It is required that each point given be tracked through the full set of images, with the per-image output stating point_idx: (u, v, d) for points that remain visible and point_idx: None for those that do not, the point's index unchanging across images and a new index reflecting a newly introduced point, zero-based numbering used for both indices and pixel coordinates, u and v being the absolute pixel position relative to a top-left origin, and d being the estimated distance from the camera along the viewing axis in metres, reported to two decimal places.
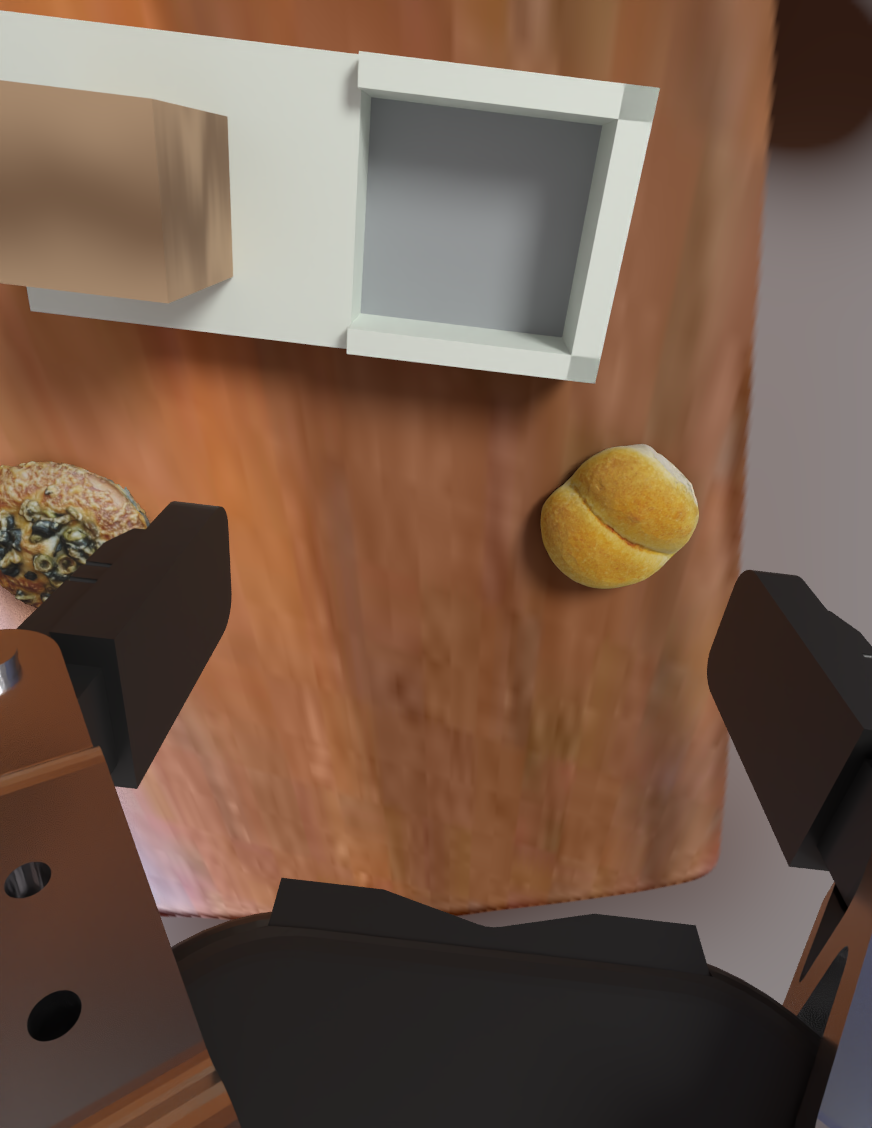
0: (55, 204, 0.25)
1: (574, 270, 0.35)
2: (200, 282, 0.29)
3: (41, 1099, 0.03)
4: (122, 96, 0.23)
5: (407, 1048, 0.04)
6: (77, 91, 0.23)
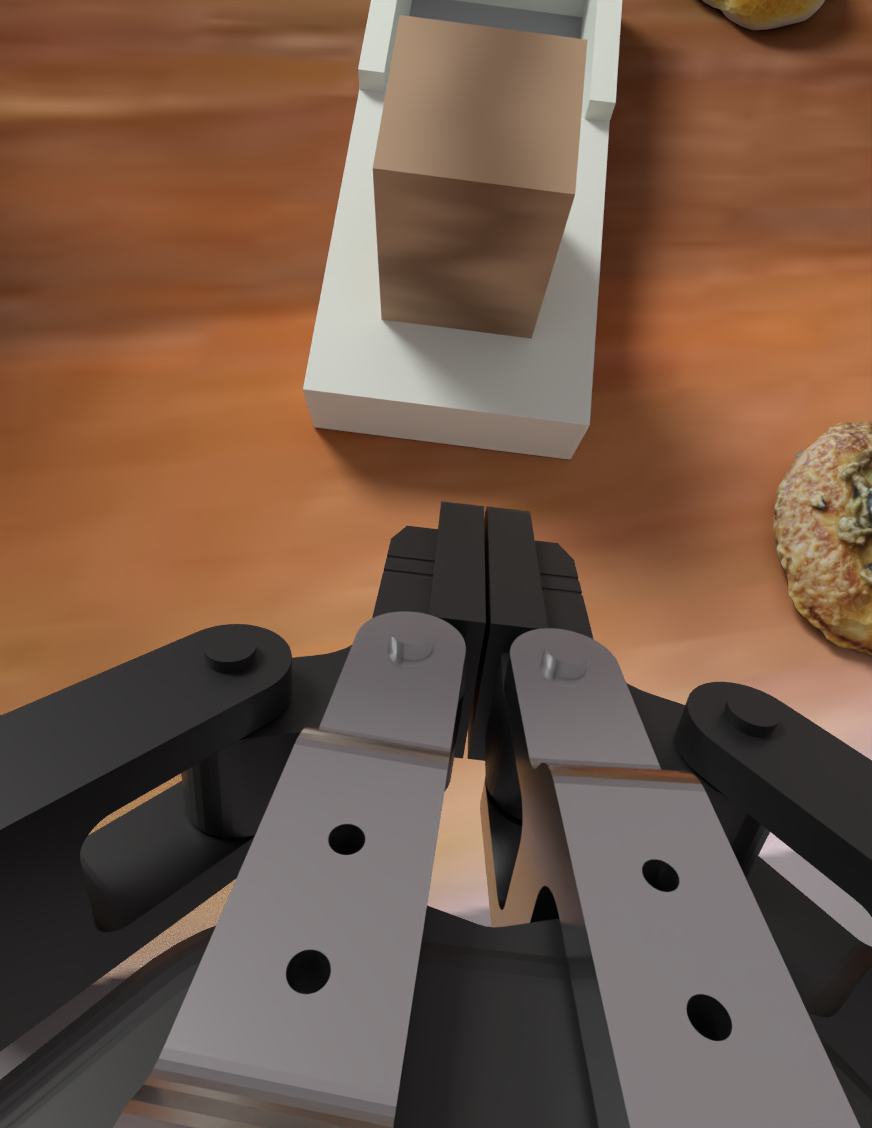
0: (491, 115, 0.23)
1: (523, 8, 0.39)
2: None
3: (267, 1037, 0.04)
4: (396, 37, 0.23)
5: (407, 1048, 0.04)
6: (391, 72, 0.23)
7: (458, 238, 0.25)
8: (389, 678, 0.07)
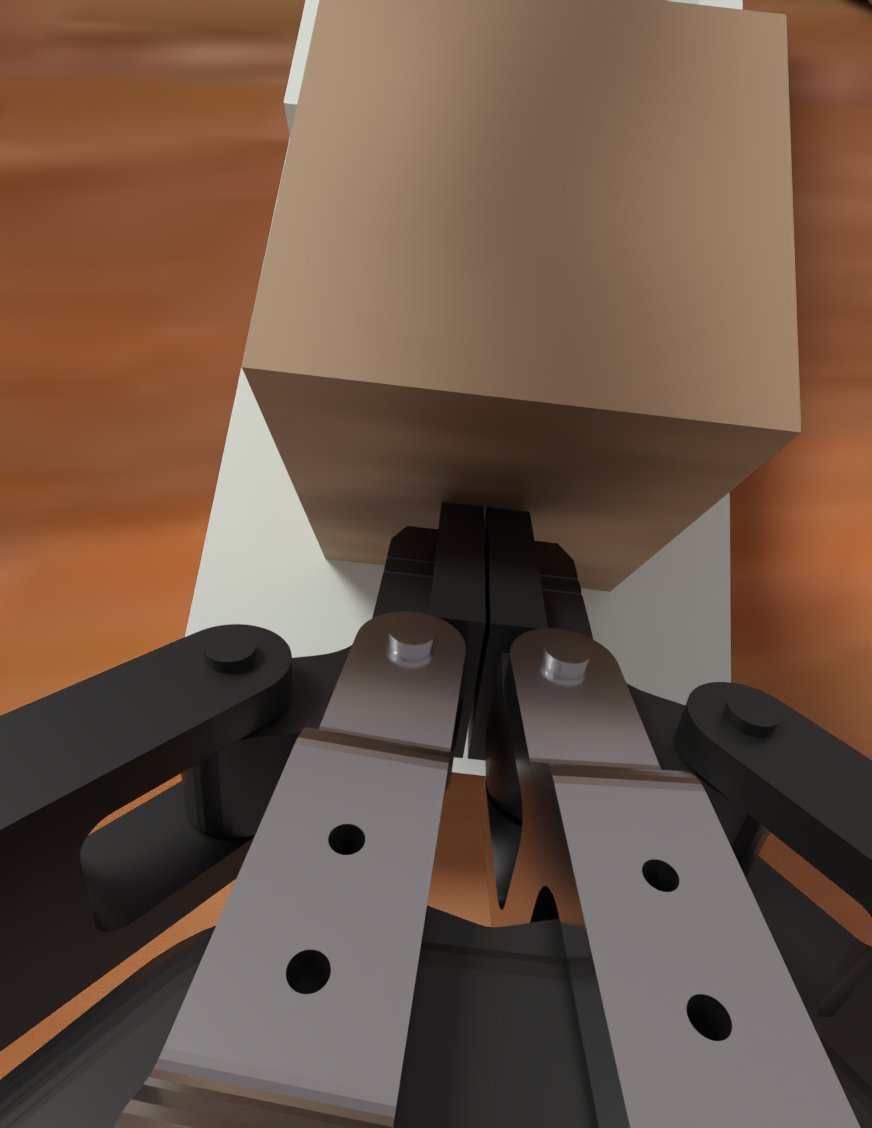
0: (561, 211, 0.09)
1: None
2: None
3: (265, 1038, 0.04)
4: (319, 15, 0.10)
5: (407, 1048, 0.04)
6: (302, 101, 0.09)
7: (473, 482, 0.11)
8: (389, 678, 0.07)
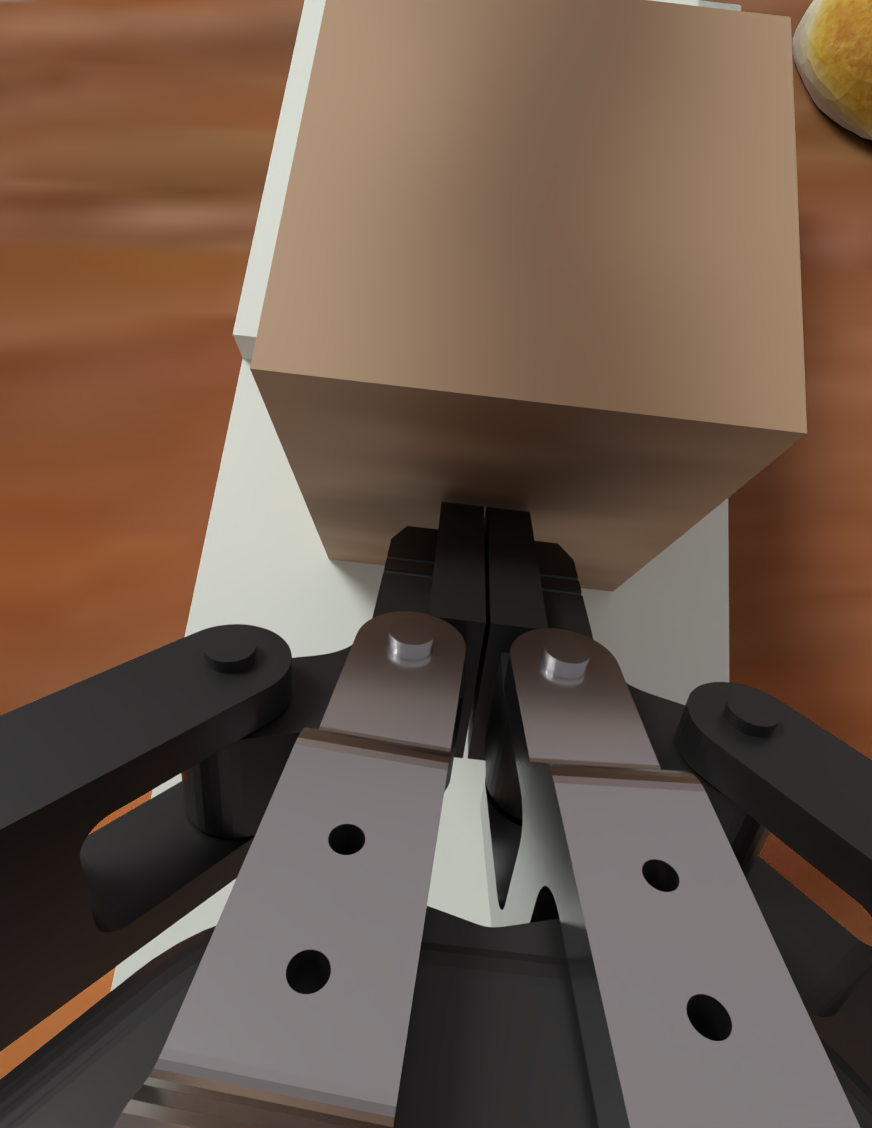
0: (567, 213, 0.09)
1: None
2: None
3: (265, 1036, 0.04)
4: (325, 17, 0.10)
5: (407, 1048, 0.04)
6: (309, 102, 0.09)
7: (479, 483, 0.11)
8: (389, 678, 0.07)
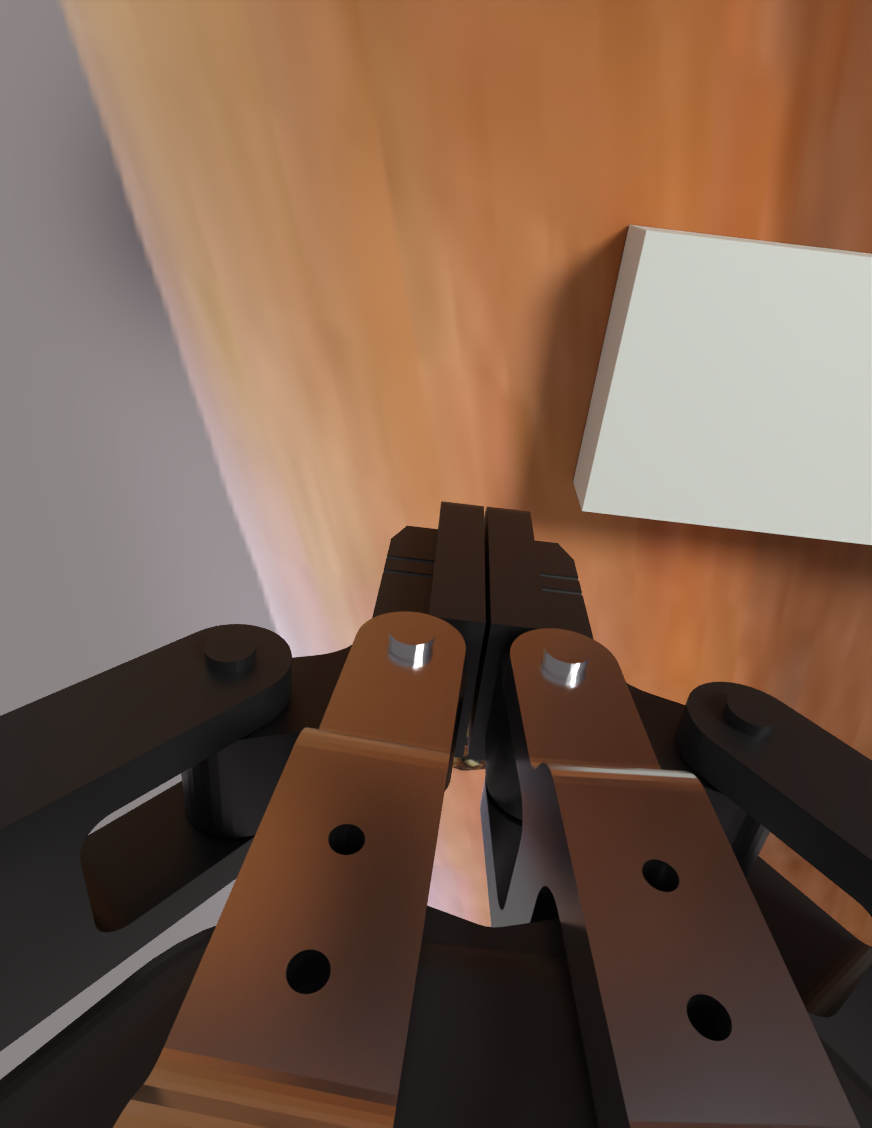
0: None
1: None
2: None
3: (267, 1037, 0.04)
4: None
5: (407, 1048, 0.04)
6: None
7: None
8: (389, 678, 0.07)
